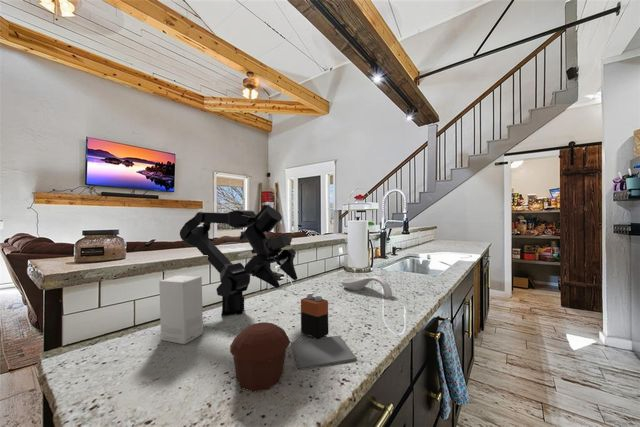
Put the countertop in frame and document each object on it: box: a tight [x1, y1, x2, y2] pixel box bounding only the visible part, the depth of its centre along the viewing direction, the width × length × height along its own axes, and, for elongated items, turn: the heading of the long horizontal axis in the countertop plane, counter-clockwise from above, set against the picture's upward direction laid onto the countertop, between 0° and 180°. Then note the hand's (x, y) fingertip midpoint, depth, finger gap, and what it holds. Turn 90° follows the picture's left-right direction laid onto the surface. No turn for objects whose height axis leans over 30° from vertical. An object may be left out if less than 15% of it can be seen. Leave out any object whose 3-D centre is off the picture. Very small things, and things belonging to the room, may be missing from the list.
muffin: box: [229, 321, 291, 393], centre depth 51 cm, size 12×11×10 cm
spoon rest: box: [340, 275, 393, 299], centre depth 109 cm, size 24×12×7 cm, turn 45°
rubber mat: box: [290, 335, 358, 370], centre depth 60 cm, size 13×11×1 cm
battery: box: [300, 294, 329, 339], centre depth 69 cm, size 4×7×10 cm, turn 46°
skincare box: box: [158, 274, 204, 345], centre depth 67 cm, size 8×7×16 cm
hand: (287, 283), depth 75 cm, fingers open, 9 cm apart
